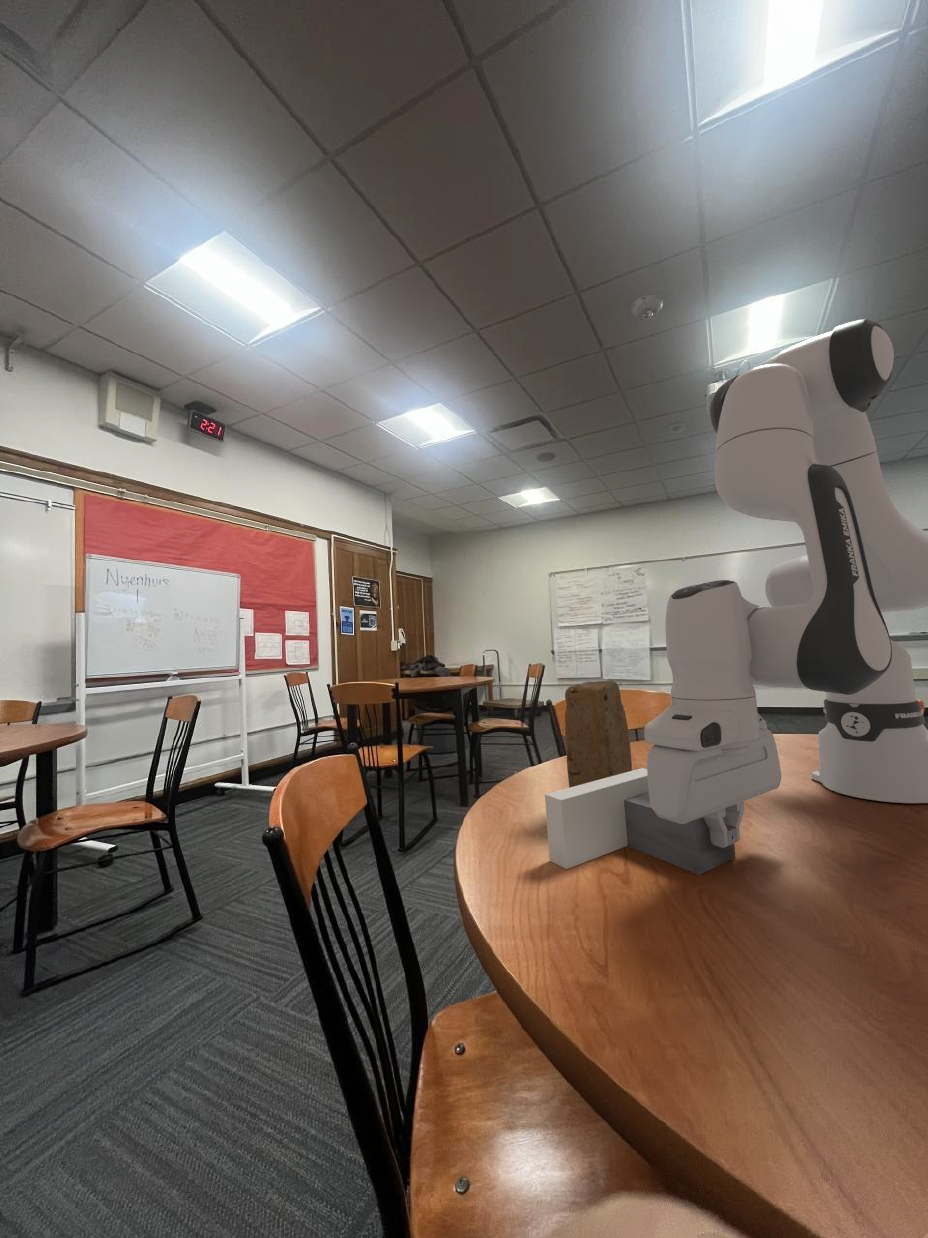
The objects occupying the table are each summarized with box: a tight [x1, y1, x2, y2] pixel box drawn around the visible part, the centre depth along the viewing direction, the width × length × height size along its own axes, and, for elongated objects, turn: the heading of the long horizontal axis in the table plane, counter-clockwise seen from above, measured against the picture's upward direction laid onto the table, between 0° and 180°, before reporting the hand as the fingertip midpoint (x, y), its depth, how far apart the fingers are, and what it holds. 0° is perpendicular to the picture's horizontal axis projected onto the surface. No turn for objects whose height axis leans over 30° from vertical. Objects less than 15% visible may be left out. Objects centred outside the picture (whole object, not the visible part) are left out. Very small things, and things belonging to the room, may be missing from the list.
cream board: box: [544, 767, 649, 870], centre depth 63 cm, size 18×3×8 cm, turn 121°
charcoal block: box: [624, 792, 736, 876], centre depth 60 cm, size 7×10×6 cm
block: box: [564, 680, 633, 788], centre depth 77 cm, size 11×8×20 cm
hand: (725, 843), depth 55 cm, fingers closed
